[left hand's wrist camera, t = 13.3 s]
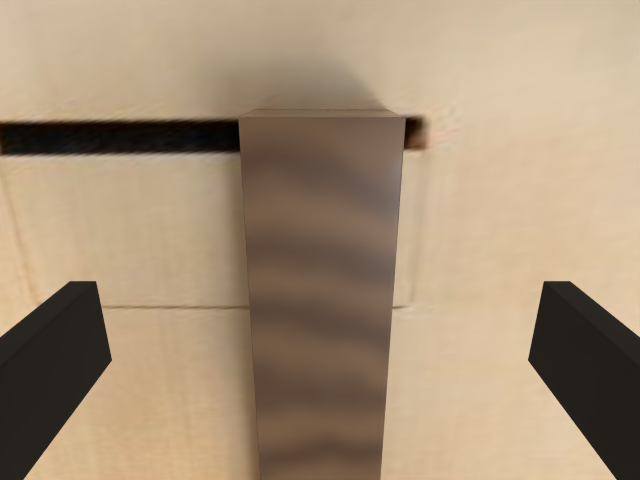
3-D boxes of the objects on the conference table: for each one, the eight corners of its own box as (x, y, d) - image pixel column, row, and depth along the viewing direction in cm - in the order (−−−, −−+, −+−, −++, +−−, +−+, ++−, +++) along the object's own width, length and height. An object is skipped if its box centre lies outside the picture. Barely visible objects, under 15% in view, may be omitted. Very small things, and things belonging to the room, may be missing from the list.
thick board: (254, 109, 31) (237, 116, 25) (388, 109, 31) (405, 117, 25) (279, 630, 53) (274, 704, 46) (359, 630, 53) (364, 704, 46)
